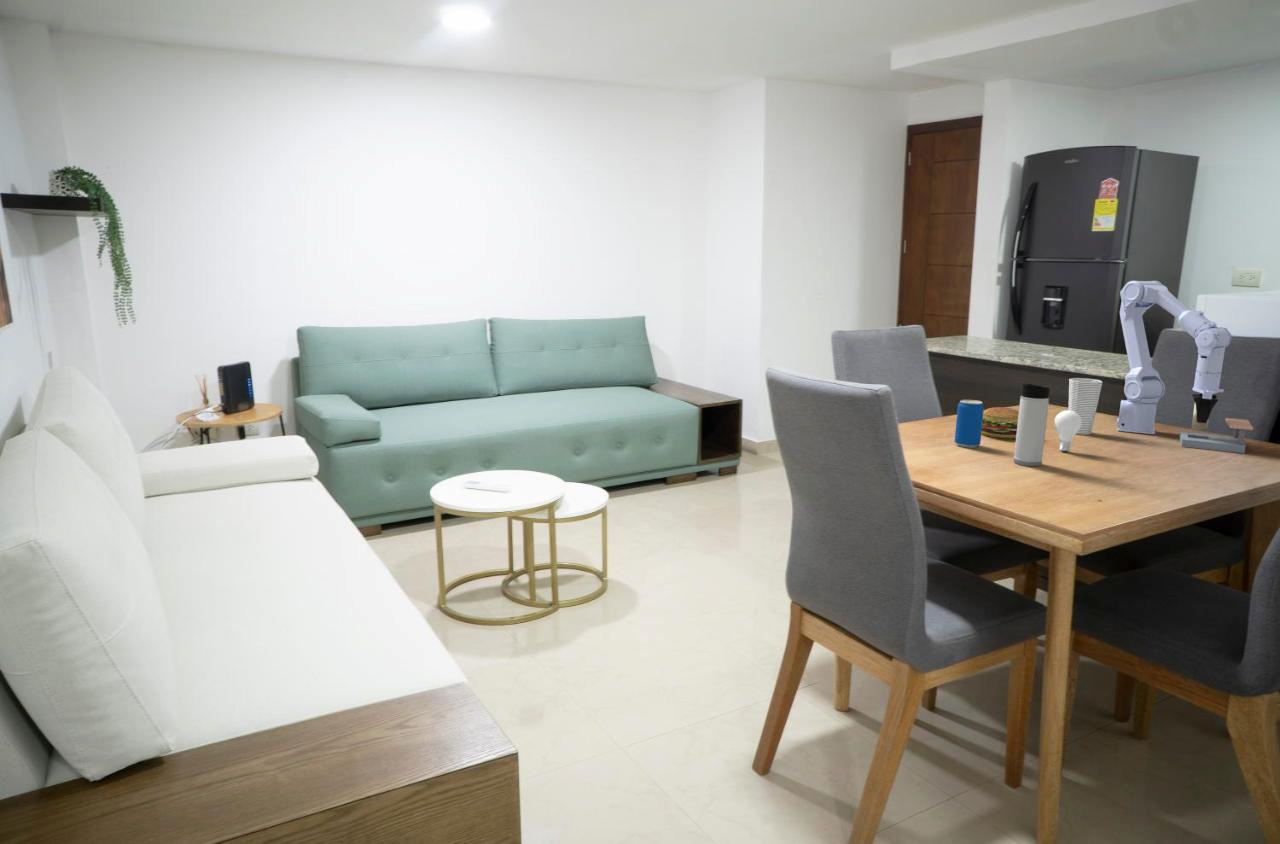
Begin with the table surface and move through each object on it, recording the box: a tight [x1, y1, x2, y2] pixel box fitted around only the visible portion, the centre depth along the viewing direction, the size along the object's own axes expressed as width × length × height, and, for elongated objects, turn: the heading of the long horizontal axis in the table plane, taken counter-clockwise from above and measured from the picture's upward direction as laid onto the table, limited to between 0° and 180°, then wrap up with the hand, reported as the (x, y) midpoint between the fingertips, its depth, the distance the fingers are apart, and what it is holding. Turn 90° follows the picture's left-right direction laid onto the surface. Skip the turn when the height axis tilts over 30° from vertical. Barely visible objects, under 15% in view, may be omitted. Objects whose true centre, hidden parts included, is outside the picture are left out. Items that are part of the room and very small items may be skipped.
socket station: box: [1178, 417, 1254, 454], centre depth 227 cm, size 15×13×7 cm
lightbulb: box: [1053, 409, 1082, 453], centre depth 217 cm, size 6×6×11 cm
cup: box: [1067, 377, 1103, 436], centre depth 241 cm, size 8×8×16 cm
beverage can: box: [954, 399, 985, 449], centre depth 222 cm, size 6×6×12 cm
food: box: [981, 406, 1019, 440], centre depth 236 cm, size 14×14×8 cm
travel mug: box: [1013, 382, 1051, 467], centre depth 202 cm, size 6×7×20 cm
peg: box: [1191, 403, 1210, 432], centre depth 228 cm, size 4×4×8 cm
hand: (1201, 421), depth 228 cm, fingers closed on peg, 4 cm apart
